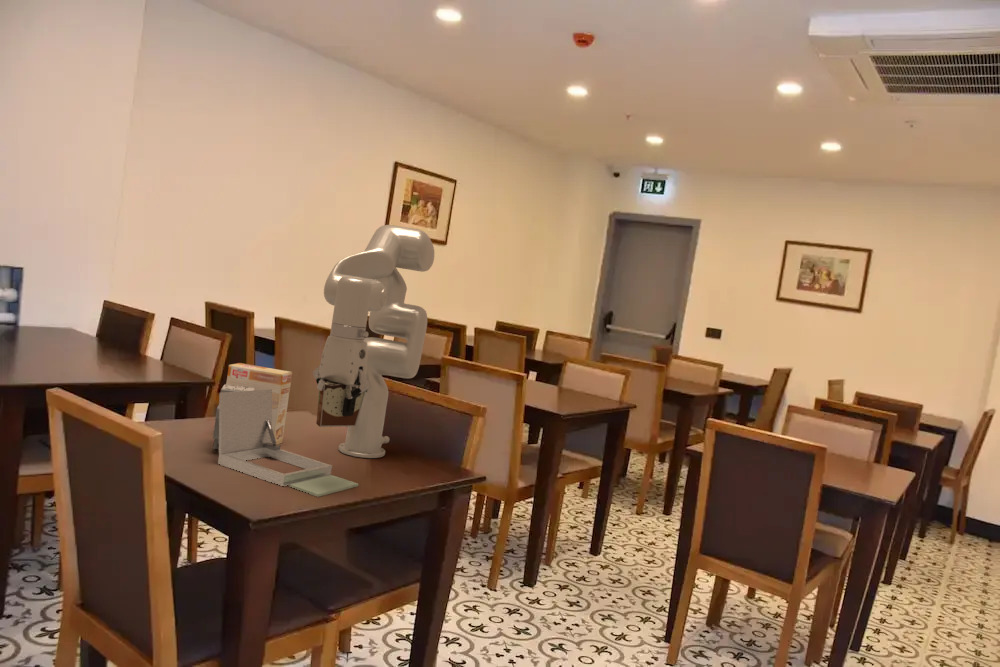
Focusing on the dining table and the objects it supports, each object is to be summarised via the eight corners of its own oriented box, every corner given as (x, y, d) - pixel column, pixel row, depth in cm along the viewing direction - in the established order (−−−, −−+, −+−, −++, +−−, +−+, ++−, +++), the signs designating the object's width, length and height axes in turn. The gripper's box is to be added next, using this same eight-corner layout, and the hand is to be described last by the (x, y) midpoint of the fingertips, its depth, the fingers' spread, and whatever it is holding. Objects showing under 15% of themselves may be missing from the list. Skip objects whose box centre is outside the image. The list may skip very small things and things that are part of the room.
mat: (331, 477, 177) (331, 474, 177) (358, 486, 173) (358, 483, 173) (289, 487, 164) (289, 484, 164) (317, 496, 161) (318, 494, 161)
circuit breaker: (209, 455, 179) (218, 394, 178) (216, 441, 192) (224, 384, 191) (242, 458, 181) (251, 397, 180) (247, 444, 194) (255, 387, 193)
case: (260, 452, 188) (269, 388, 187) (330, 475, 178) (340, 408, 177) (209, 461, 174) (219, 392, 173) (282, 486, 164) (293, 413, 163)
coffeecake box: (283, 442, 202) (293, 371, 201) (272, 447, 195) (282, 374, 194) (230, 432, 204) (240, 362, 202) (217, 437, 196) (228, 364, 195)
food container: (345, 418, 175) (353, 376, 174) (361, 426, 171) (369, 383, 170) (299, 418, 166) (307, 374, 165) (314, 426, 162) (322, 381, 161)
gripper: (389, 339, 166) (376, 419, 167) (328, 327, 174) (317, 403, 175) (368, 339, 160) (356, 422, 161) (306, 326, 167) (294, 405, 168)
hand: (335, 411), depth 168 cm, fingers closed on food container, 6 cm apart
